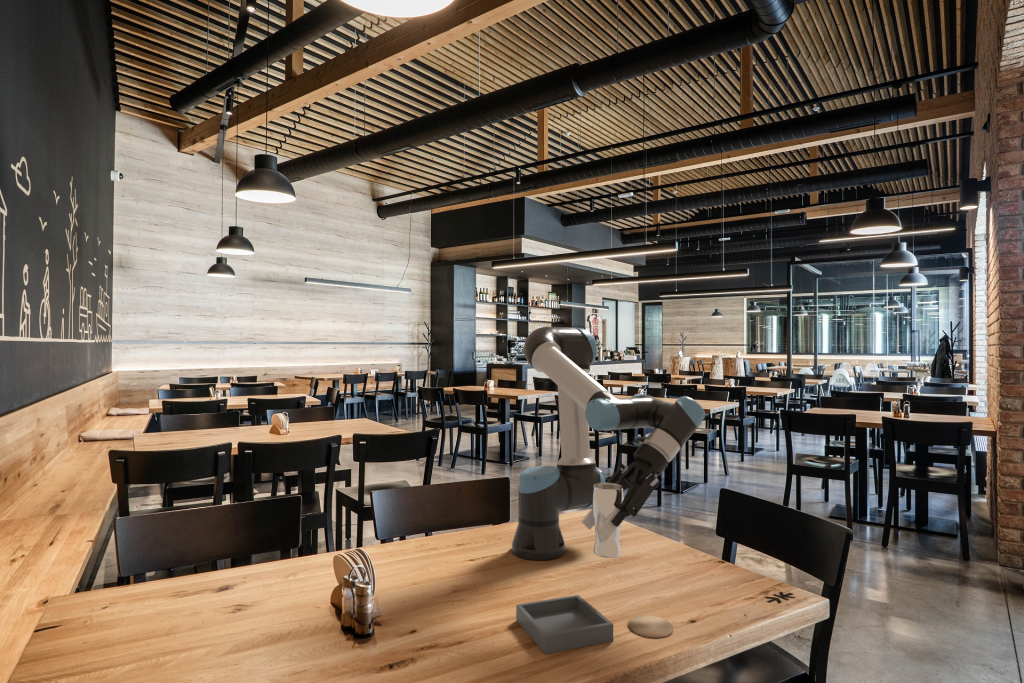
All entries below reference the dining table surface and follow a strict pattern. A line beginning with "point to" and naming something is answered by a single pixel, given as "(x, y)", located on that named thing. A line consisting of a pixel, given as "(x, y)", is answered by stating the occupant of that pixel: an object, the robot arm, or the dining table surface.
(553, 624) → the tray
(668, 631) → the coaster
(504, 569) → the dining table surface
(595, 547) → the beer glass
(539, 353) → the robot arm
